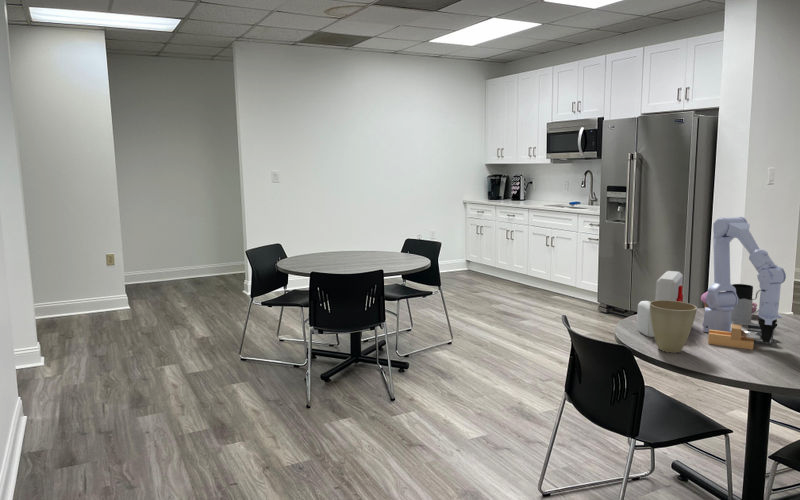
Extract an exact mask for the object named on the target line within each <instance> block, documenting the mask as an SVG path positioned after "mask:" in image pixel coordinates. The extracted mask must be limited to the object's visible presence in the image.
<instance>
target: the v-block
mask: <svg viewBox="0 0 800 500" xmlns="http://www.w3.org/2000/svg"><path fill="white" fill-rule="evenodd" d="M746 331H752V332H760V333H761V328H760V325H759V323H757V324H756V323H752V324H749V323H748V324H747V325H746ZM773 342H774V331H773V334H772V337H771V342H763V341H755V340H754V344H763V345H768V346H769V345H770V346H773V344H774V343H773Z"/></svg>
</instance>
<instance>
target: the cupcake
mask: <svg viewBox="0 0 800 500" xmlns="http://www.w3.org/2000/svg"><path fill="white" fill-rule="evenodd" d="M707 294H708V291H706V292H704V293H703V294H702V295H701V296H700V300H701V301H702V303H703V313H704V312H705V307H707V308H709V306H708V305H707V302H706V297H707Z"/></svg>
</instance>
